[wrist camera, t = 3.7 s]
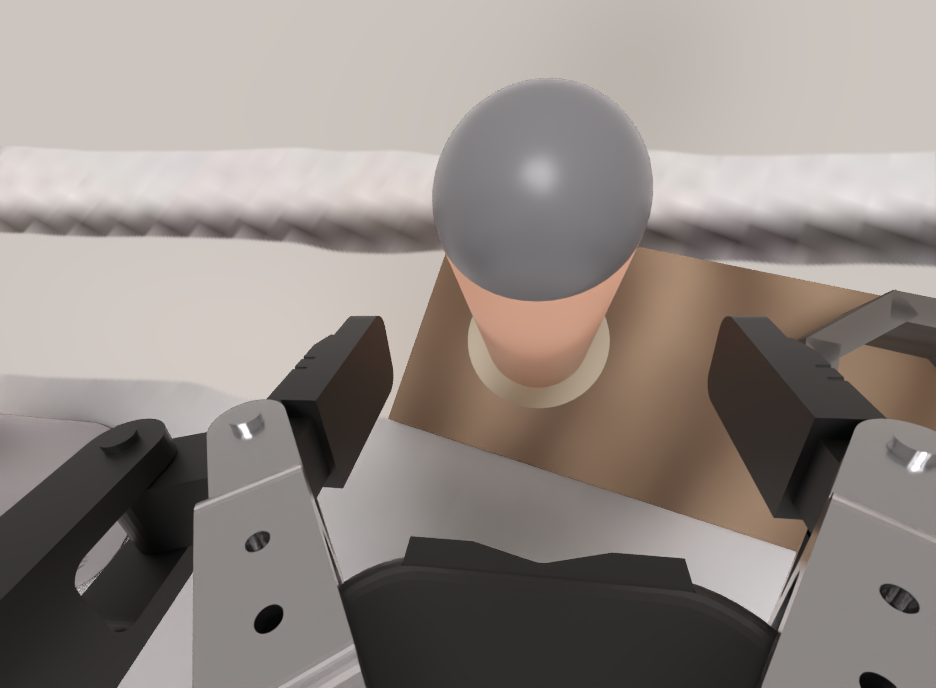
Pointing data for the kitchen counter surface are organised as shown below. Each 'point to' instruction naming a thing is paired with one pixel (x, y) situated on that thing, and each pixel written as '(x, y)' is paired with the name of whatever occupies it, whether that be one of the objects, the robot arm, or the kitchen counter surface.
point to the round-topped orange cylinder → (542, 220)
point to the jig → (664, 382)
